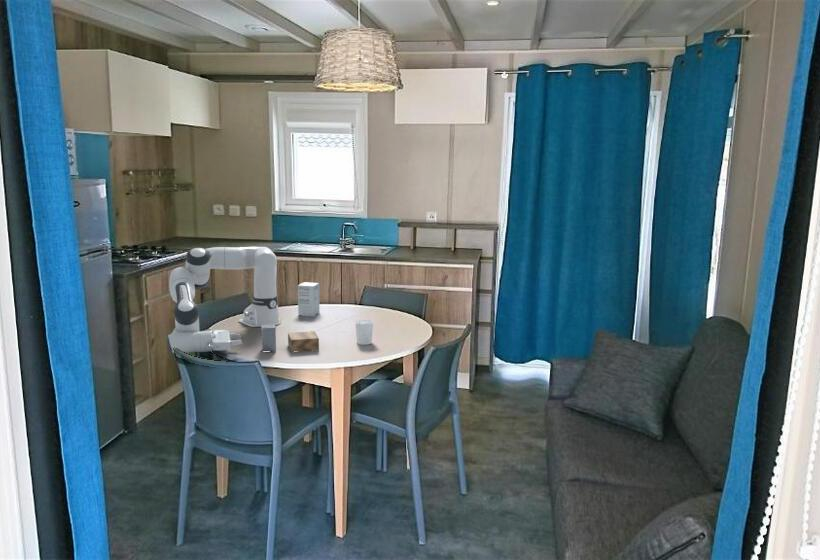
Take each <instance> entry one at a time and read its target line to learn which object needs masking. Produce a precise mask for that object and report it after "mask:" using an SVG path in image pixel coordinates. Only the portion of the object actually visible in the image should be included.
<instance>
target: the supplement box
mask: <svg viewBox="0 0 820 560" xmlns="http://www.w3.org/2000/svg"><path fill="white" fill-rule="evenodd" d="M320 307H321V306H320V283H319V282H308V281H307V282H306V281H305V282H302V283H299V284H298V285H297V310H298V311H297V312H298V315H297V316H299V315H302V317H315V316H317V315H318V314H320V313H319V312H320V310H321V309H320ZM316 314H317V315H316Z"/></svg>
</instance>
